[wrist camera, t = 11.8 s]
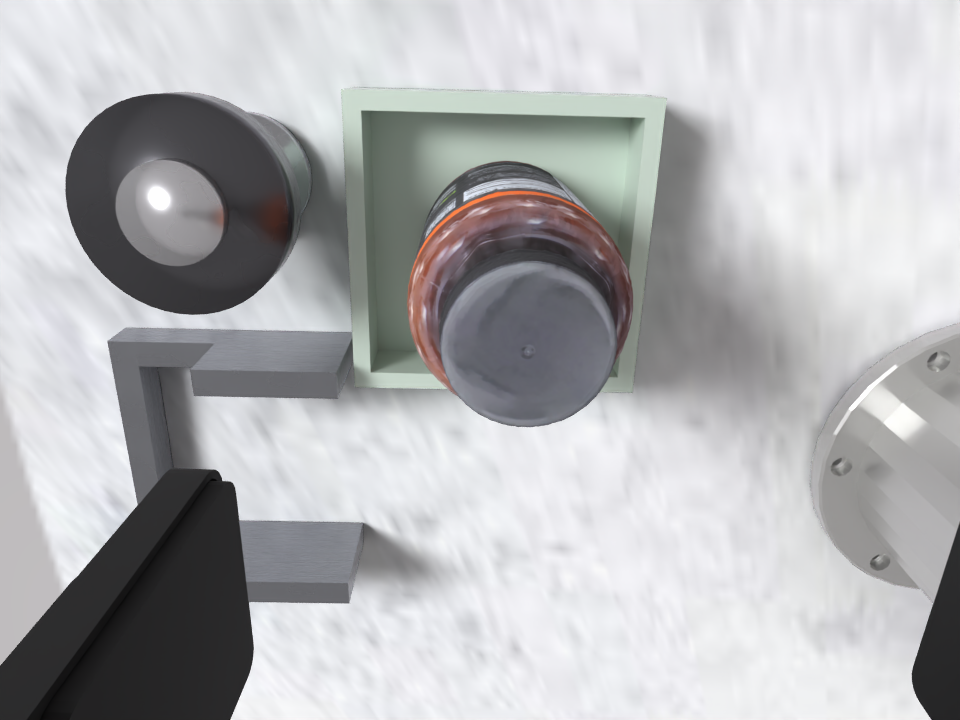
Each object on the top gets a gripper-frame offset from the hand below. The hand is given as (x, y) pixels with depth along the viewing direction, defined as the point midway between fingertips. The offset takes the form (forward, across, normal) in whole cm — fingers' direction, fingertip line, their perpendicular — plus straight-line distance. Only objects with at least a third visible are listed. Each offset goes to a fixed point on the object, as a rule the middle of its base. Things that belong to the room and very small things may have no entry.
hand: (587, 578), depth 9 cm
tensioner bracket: (+19, +11, +8) cm, 23 cm away
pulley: (+19, +10, -3) cm, 21 cm away
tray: (+19, +1, -1) cm, 19 cm away
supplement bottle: (+19, +1, 0) cm, 19 cm away
